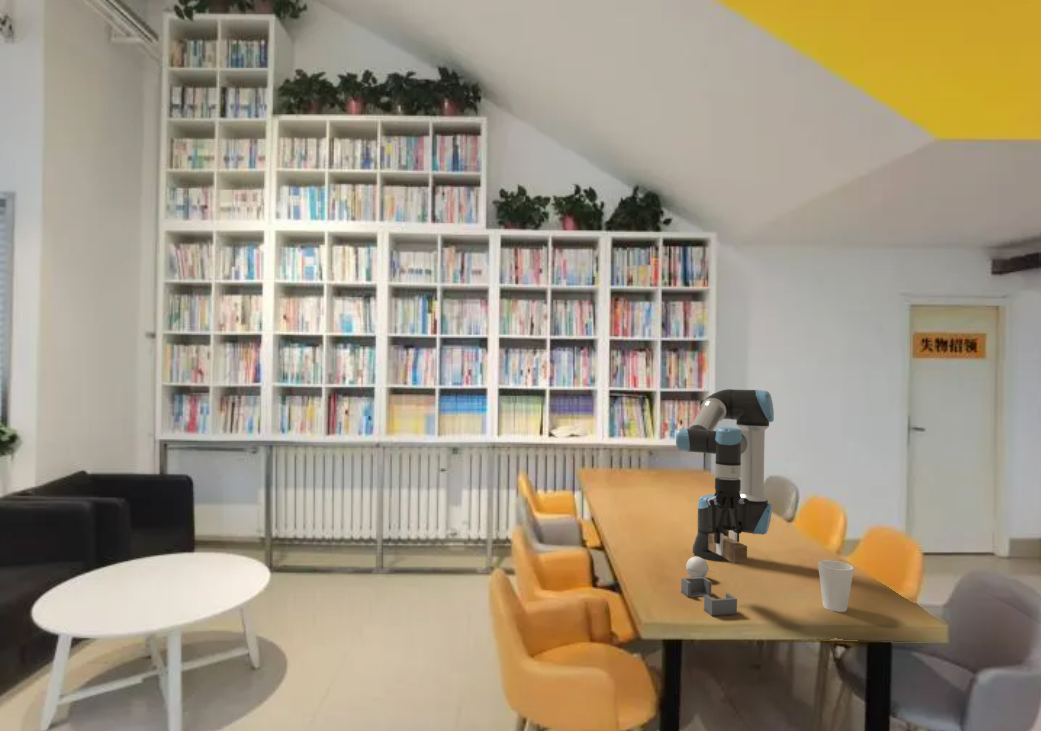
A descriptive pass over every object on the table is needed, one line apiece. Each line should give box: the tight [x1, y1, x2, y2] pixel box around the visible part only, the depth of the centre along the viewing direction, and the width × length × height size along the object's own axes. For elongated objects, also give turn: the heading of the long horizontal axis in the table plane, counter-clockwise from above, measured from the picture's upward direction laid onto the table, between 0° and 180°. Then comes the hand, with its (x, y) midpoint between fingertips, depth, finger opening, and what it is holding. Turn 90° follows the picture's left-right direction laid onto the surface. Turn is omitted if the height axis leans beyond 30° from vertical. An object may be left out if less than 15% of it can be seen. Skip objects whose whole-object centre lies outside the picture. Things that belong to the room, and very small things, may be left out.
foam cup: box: [817, 559, 854, 613], centre depth 181 cm, size 10×9×13 cm
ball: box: [685, 556, 715, 578], centre depth 203 cm, size 10×7×7 cm
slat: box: [708, 533, 748, 565], centre depth 183 cm, size 15×4×5 cm, turn 13°
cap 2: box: [703, 593, 738, 617], centre depth 175 cm, size 4×8×4 cm, turn 102°
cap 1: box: [680, 576, 712, 598], centre depth 190 cm, size 4×8×4 cm, turn 102°
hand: (726, 553), depth 184 cm, fingers closed on slat, 4 cm apart
